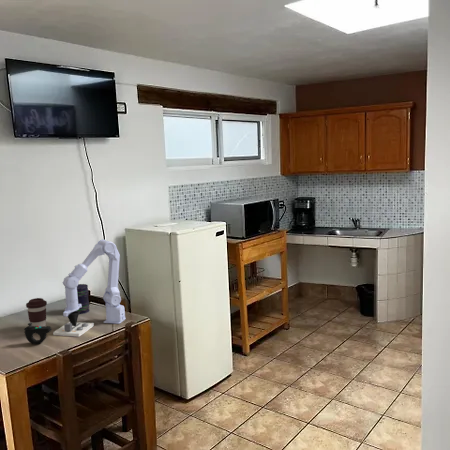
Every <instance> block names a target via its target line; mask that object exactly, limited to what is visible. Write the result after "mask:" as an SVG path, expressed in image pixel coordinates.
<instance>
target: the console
mask: <svg viewBox="0 0 450 450" xmlns="http://www.w3.org/2000/svg"><path fill="white" fill-rule="evenodd" d="M67 323H70V321H68V322H67ZM94 326H95V323H94V322H80V321H79V322H78V321H77V324H76V326H72V331H65V328H64V325H62V326H60V328H57V329H56V330H54V331H53V332H52V333H53V336H61V337H63V336H64V337H75V338H76V337H79V338H80V337H81V336H82V335H83V334H85V333H86V332H87V331H89V330H90V329H91V328H93V327H94Z"/></svg>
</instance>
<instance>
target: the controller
mask: <svg viewBox="0 0 450 450" xmlns="http://www.w3.org/2000/svg"><path fill="white" fill-rule="evenodd" d="M27 325H28V326H26V327H24V335H25V338H26V340H27V341H28V342H29V343H30V344H31V345H32V344H34V345H38V344H41V343H43V342H44V341H45V340H46V338H47V336H48V334H49V333H50V332H51V331H52V330H53V329H52V327H51V326H49V325H46V326H32V323H30V322H28V323H27ZM34 334H36V335H38V336H39V339H35V338H34Z"/></svg>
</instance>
